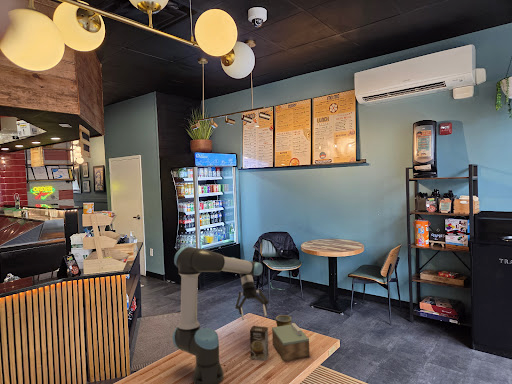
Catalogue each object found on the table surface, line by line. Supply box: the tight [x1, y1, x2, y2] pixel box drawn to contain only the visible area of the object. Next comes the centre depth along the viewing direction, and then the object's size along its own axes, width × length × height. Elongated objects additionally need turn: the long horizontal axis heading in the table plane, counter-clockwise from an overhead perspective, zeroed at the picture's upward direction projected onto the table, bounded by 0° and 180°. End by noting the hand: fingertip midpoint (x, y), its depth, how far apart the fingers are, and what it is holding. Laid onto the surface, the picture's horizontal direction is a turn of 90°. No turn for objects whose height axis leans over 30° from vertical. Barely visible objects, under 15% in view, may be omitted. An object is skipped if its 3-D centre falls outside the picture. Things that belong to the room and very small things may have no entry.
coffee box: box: [249, 325, 269, 361], centre depth 184 cm, size 9×6×16 cm
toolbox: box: [271, 329, 310, 363], centre depth 189 cm, size 15×20×9 cm
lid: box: [271, 322, 310, 345], centre depth 189 cm, size 15×20×4 cm
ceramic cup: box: [275, 314, 292, 327], centre depth 212 cm, size 13×10×10 cm
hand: (254, 317), depth 192 cm, fingers open, 13 cm apart
